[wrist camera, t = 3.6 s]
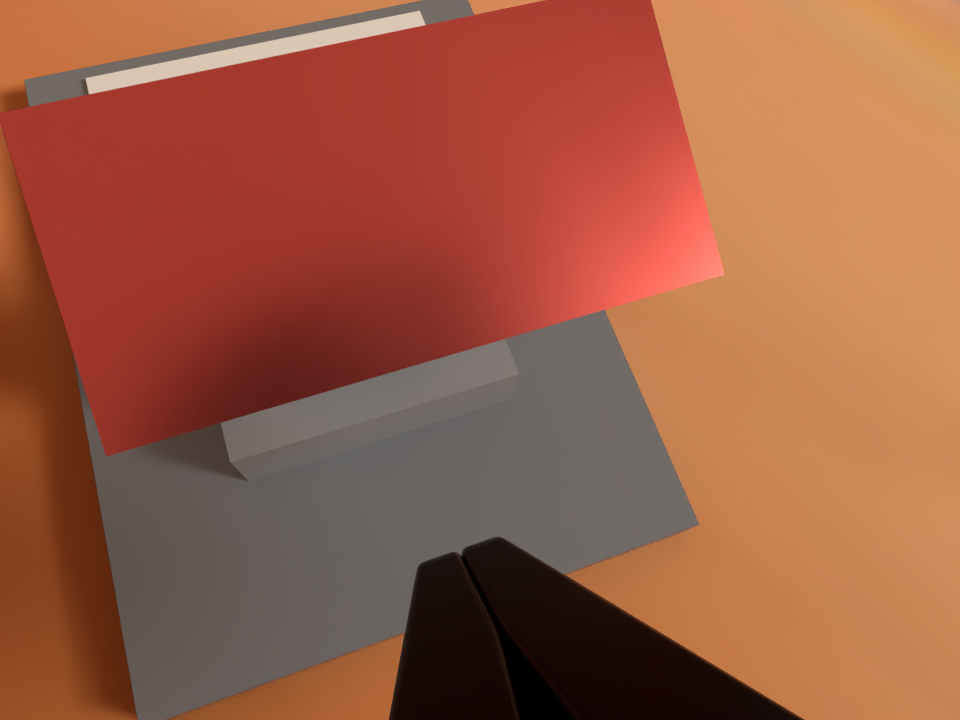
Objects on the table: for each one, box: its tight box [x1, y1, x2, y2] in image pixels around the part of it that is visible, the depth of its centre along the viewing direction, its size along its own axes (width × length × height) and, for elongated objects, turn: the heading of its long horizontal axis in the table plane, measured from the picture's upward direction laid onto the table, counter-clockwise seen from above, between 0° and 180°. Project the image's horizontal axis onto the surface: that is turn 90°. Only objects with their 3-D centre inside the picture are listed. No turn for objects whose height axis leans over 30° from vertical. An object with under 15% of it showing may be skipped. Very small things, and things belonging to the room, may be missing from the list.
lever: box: [0, 0, 724, 457], centre depth 10 cm, size 2×4×11 cm, turn 110°
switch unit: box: [24, 0, 699, 720], centre depth 17 cm, size 16×12×5 cm
